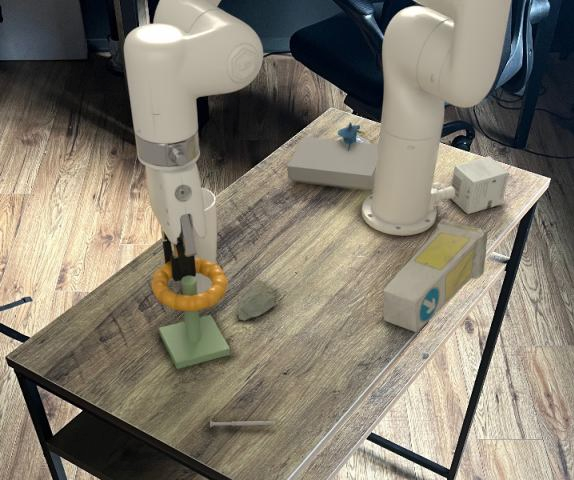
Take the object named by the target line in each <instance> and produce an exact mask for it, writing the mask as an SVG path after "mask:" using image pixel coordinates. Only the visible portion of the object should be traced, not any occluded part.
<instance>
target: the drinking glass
mask: <svg viewBox="0 0 574 480" xmlns="http://www.w3.org/2000/svg"><path fill="white" fill-rule="evenodd" d="M201 189H202V196H203V203H204V212H205V220H206V229H207V235H206V237H205V238H201V239H200V238H199V237H198V235H197V233H196V232H195V230H194V229H193V227H192V231H193V237H194V242H195V247H196V252H197V255H194V256H195V258H202V259H206V260H208V261H210V262H212V263H214V264H216V265H217V253H218V232H219V231H218V230H219V229H218V228H219V226H218V225H219V223H218V218H219V217H218V207H217V206H218V205H217V198H216V195H215V194H214V193H213V192H212V191H211V190H209V189H207V188H205V187H201ZM195 278H196V282H197V294H200V293H204V292H205V291H207V290H208V289H209V288H210V287H211V285H212V281H211V280H210V278H208V277H206V276H204V275H202V274H199V273H196V276H195ZM180 285H181V287H182V283H181V282H180Z"/></svg>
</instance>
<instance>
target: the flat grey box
mask: <svg viewBox="0 0 574 480" xmlns="http://www.w3.org/2000/svg"><path fill="white" fill-rule="evenodd" d="M378 144H379V143H361V142H353V143H352V144H351V145H350V148H349V144H346V143H344V142H343V140H334V139H332V138H324V137H314V136H305V135H304V136H303V137H302V139H301V141H300V142H299V144H298V146H297V148H296V149H295V152H294V153H293V155H292V156H291V158H290V160H289V162H288V164H287V165H286V168H287V169H286V170H287V178H288V179H289V180H290V181H292V182H296V183H299V184H308V185H318V186H324V187H333V188H342V189H351V190H357V191H370V190H373V189H372V188H373V187H374V179H375V170H376V162H377V153H378ZM348 148H349V151H348Z"/></svg>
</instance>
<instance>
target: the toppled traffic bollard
mask: <svg viewBox="0 0 574 480" xmlns="http://www.w3.org/2000/svg"><path fill="white" fill-rule="evenodd" d="M487 244H488V230H486V229H482V228H479V227H476V226H472V225H468V224H464V223H461V222H458V221H455V220H452V219H447V218H442V219H441V220H440V221H439V222H438V223H437V227H436V231H434V233H433V234H432V235H431V236H430V238H429V239H428V240H426V242H425V243H424V244H423V245H422V246H421V247H420V249H419V250H418V251H417V252H416V253H415V254H414V255H413V256H412V257H411V258H410V259H409V260H408V261H407V263H406V264H405V265H403V267H402V268H401V269H400V270H399V271H398V272H397V273H396V274H395V276H394V277H393V278H392V279H391V281H390V282H388V284H387V285H386V286H385V287H384V288H383V290H382V292H383V293H382V295H383V298H382V299H383V321H384V322H387V323H389V324H392V325H395V326H397V327H401V328H404V329H406V330H408V331H412V332H414V333H417V332H419V331H420V330H421V329H422V328H423V327H424V326H425V325H426V324H427V323H428V322H429V321H430V320H431V319H432V318H433V317H434V316H436V314H437V313H438V312H439V311H441V309H442V308H443V307H444V306H445V305H446V304H448V303H449V301H450V300H451V299H452V298H453V297H455V296H456V294H458V292H459V291H460V290H461V289H463V287H465V285H467V283H468V282H470V281H471V280H472V279H473V280H474V279H475V280H478V279H479V278H481V276H482V275H484V273H485V272H484V271H485V265H486V258H487Z"/></svg>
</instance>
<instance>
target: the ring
mask: <svg viewBox="0 0 574 480" xmlns="http://www.w3.org/2000/svg"><path fill="white" fill-rule="evenodd" d="M195 268H196V273H199V274H202V275H204V276H206V277H208V278H210V280H211V281H212V285H211V287H210V288H209V289H208V290H207V291H205V292H204V293H200V294H196V295H192V296H189V295H183V294H178V293H176V292H175V291H173V290H170V288H169V287H168V283H169V281H170V280H172V279H173V277H172V268H171V261H169V262H167V263H166V264H165V263H164V264H163V265H162V266H160V267H159V268H158V269H156V270H155V272H154V275H153V277H152V280H151V283H150V288H151V291H152V293H153V295H154V296H155V298H156V300H157V301H158V302H159V303H160V304H162V305H164V306H166V307H168V308H170V309H172V310H174V311H182V312H184V311H197V310H199V311H201V310H205V309H210V308H211V307H213V306H214V305H216V304H217V303H218V302H219V301H220V300H222V299H223V298H224V297H225V295H226V291H227V287H228V284H229V283H228V282H229V281H228V277H227V276H226V274H225V273H224V271H223V269H222V267H220V265H218V264H217V263H216V264H214V263H212V262H210V261H208V260H206V259H202V258H195Z"/></svg>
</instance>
